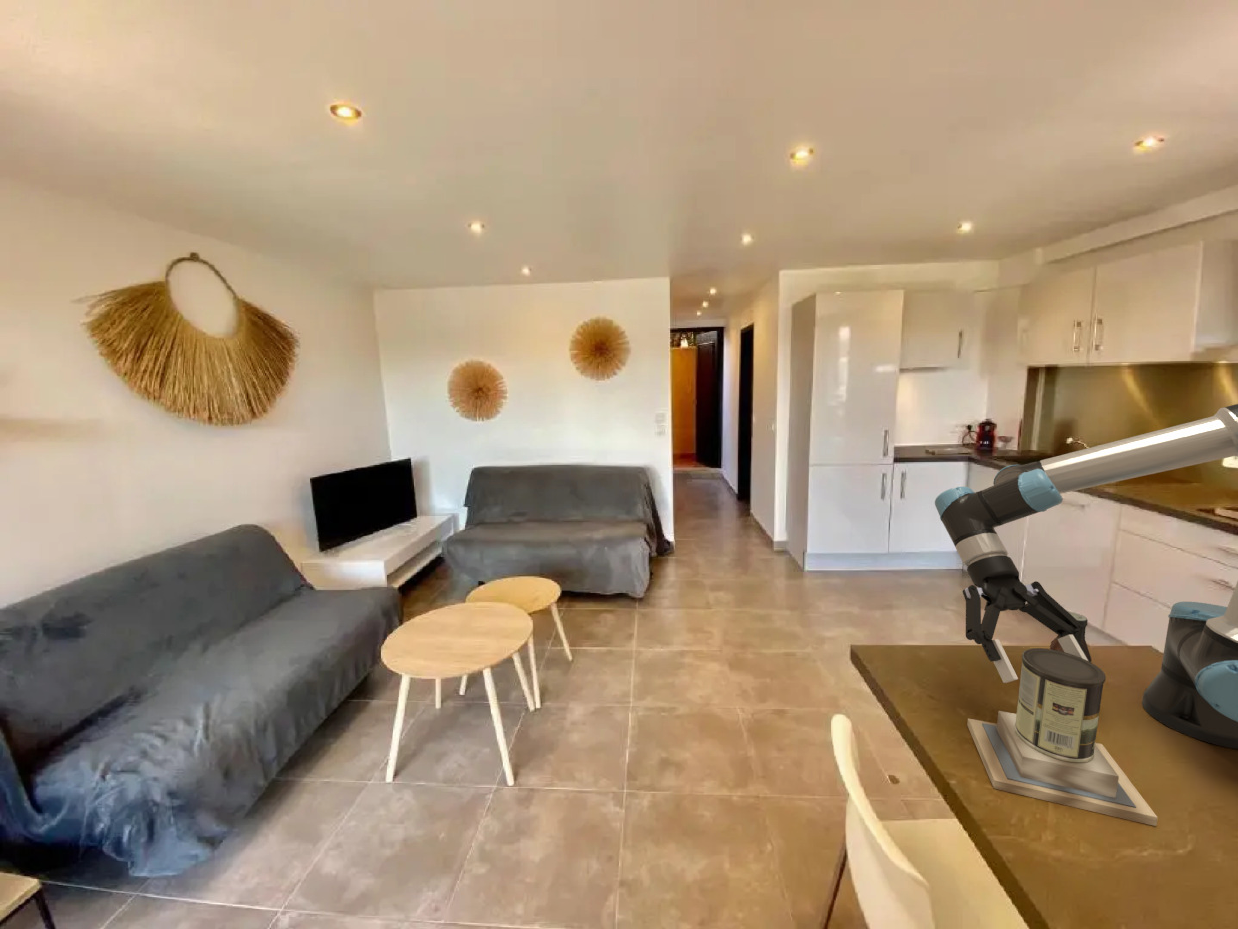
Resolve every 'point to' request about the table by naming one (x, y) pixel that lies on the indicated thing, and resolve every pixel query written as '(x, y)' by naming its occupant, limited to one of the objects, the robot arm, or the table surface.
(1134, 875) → the table surface
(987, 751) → the plate
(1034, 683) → the coffee can
